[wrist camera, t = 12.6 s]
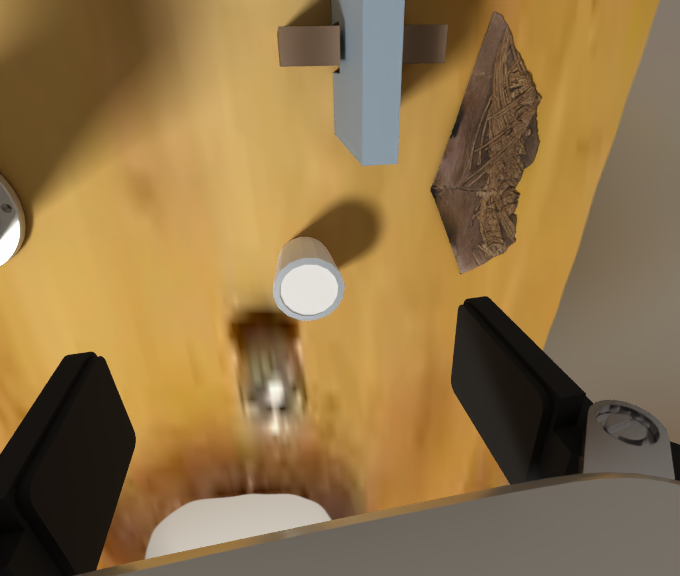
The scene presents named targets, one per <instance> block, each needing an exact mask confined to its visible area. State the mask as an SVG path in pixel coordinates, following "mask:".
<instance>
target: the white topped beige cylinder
mask: <svg viewBox="0 0 680 576" xmlns="http://www.w3.org/2000/svg"><path fill="white" fill-rule="evenodd" d="M344 286H345V284H344V281H343V279H342V276H341V273H340V271H339V269H338V268H337V266H336V264H335V262H334V260H333V258H332V257H331V255H330V253H329V251H328V249H327V248H326V247H325V246H324V245H323V244H322V243H321V241H319V240H317V239H314V238H312V237H298V238H295V239H292V240H290V241H289V242H288V243H287V244H286V245H284V246H283V248H282V250H281V252H280V254H279V258H278V263H277V268H276V273H275V278H274V283H273V297H274V299H275V301H276V304H277V306H278V308H279V309H281V310H282V311H283V312H284V313H285V314H286V315H287V316H290V317H292V318H295V319H298V320H317V319H319V318H322V317H325V316H327V315H329V314H330V313H331V312H332V311H334V310H335V309H336V308H337V307H338V305H339V304H340V302H341V300H342V298H343V295H344Z"/></svg>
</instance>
